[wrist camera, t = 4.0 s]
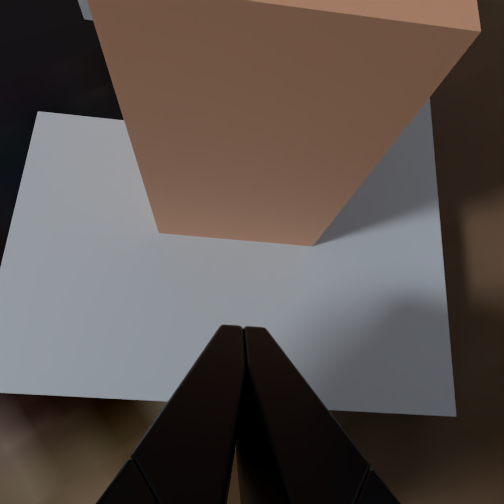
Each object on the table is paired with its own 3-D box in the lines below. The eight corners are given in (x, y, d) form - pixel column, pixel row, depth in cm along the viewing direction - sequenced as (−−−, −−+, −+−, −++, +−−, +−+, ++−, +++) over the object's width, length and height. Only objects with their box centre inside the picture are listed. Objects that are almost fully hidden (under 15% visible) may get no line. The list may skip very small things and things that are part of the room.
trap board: (424, 412, 15) (487, 420, 11) (3, 390, 14) (-62, 391, 10) (388, -161, 24) (417, -250, 20) (133, -204, 23) (120, -306, 19)
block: (312, 246, 14) (481, 31, 5) (158, 233, 14) (80, -22, 5) (315, 8, 17) (427, -371, 8) (189, -8, 17) (173, -425, 8)
